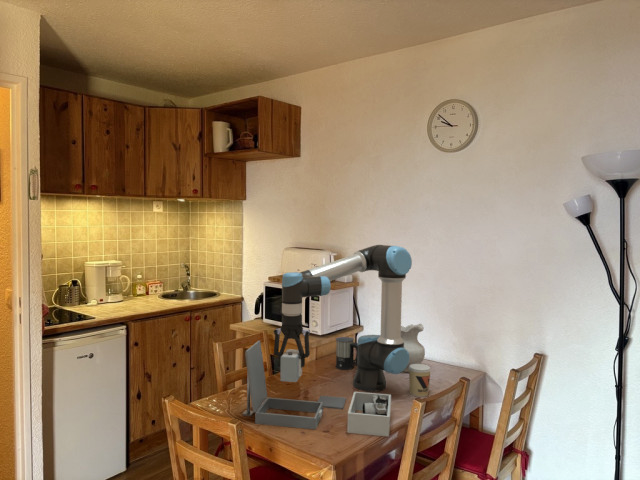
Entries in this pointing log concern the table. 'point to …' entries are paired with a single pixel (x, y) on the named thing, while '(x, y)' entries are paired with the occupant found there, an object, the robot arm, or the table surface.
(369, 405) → the camera
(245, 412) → the stay rod
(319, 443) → the table surface
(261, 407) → the case
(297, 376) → the block
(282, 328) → the robot arm
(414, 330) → the ceramic pitcher
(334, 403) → the mat
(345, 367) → the milk frother
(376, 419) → the crate
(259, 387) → the lid
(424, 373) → the coffee cup
